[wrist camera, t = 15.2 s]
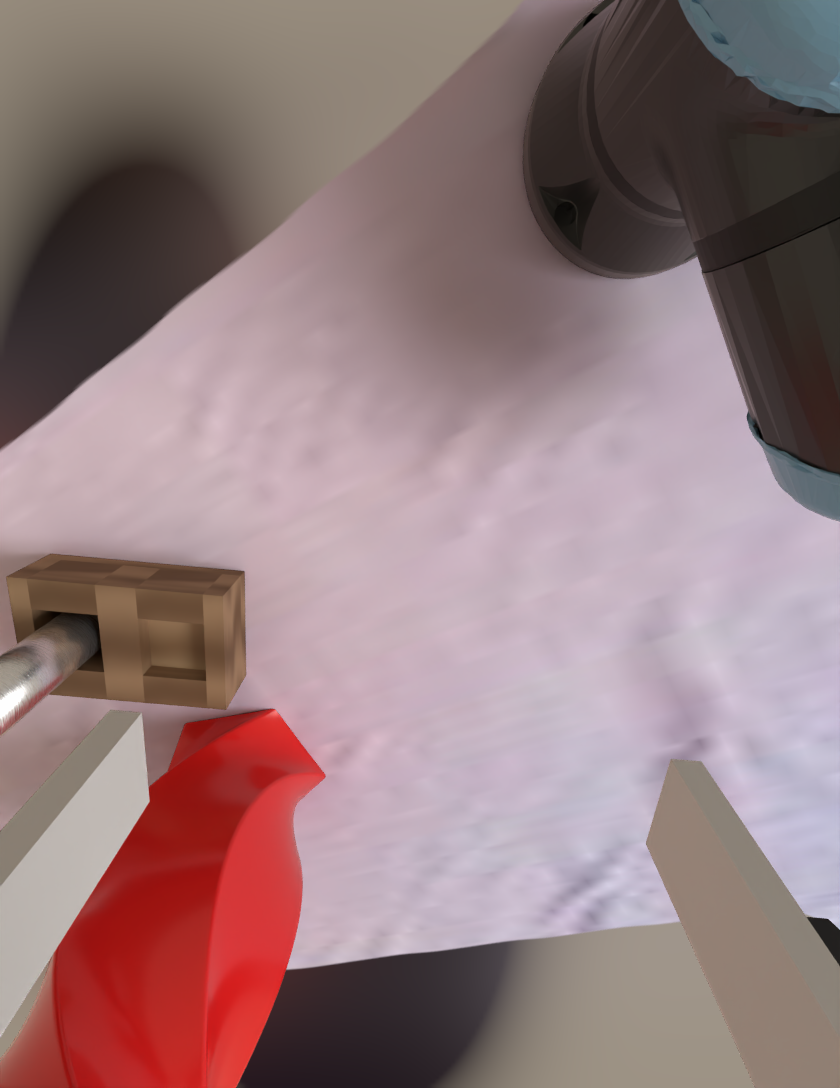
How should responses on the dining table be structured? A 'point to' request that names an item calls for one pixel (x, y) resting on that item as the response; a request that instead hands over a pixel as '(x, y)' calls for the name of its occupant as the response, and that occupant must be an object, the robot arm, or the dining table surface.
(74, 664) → the pin
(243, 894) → the vase
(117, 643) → the block
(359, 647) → the dining table surface
